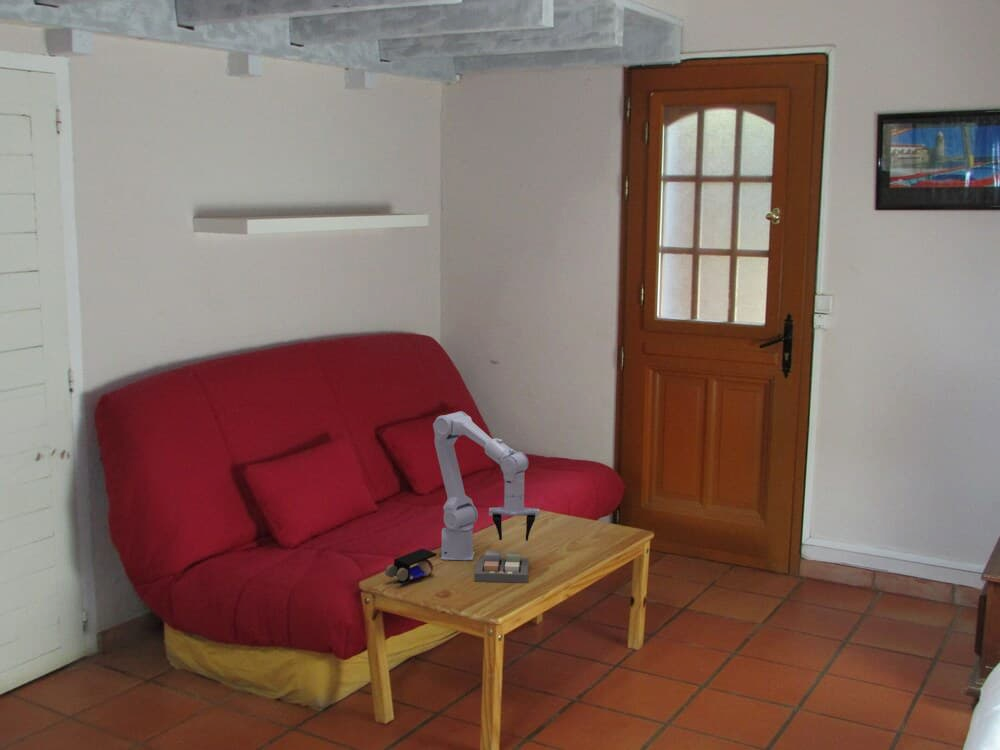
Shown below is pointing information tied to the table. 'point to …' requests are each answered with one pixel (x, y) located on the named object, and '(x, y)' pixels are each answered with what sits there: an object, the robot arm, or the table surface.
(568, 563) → the table surface
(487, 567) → the key terracotta
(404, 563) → the black toy vehicle
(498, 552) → the key slate
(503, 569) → the keypad bezel
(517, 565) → the key cream
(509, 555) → the key sage
